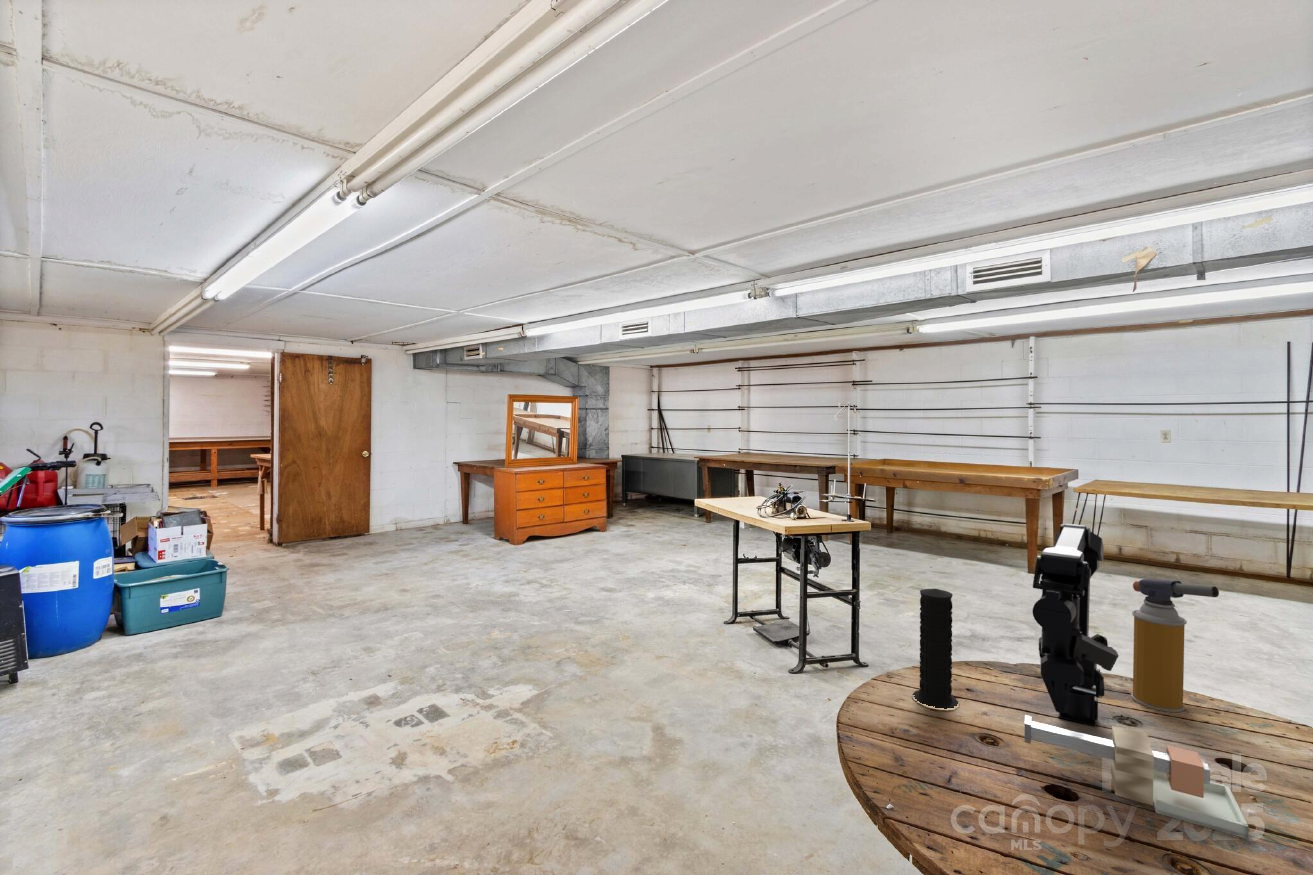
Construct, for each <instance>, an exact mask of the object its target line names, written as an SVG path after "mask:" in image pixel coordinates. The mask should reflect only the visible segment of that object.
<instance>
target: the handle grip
mask: <svg viewBox="0 0 1313 875" xmlns="http://www.w3.org/2000/svg"><path fill="white" fill-rule="evenodd" d="M919 594H920V598H919V604H920V608H919V611H920V612H919V619H920V621H919V624H920V625H919V632H920V634H919V638H920V639H919V651H920V652H919V678H920V679H919V689H917V690H915V691H914V692H913V693H912V695H915V696H914V697H915V699H917V701H919V702H920V703H922V704H926V705H928V706H933V707H934V706H935V708H944V709H947V708H954V706H957V704H958V702H959V701H957V700H958V699H957V698H956V697H954V696H953V694H952V692H953V687H952V683H953V680H952V678H953V672H952V669H953V666H952V664H953V658H952V656H953V652H952V651H953V638H952V637H953V630H952V628H953V616H952V615H953V611H952V610H953V602H952V598H953V593H951V592H950V591H947V590H944V589H940V588H939V589H938V588H923V589H920V591H919ZM956 699H957V700H956Z"/></svg>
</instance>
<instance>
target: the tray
mask: <svg viewBox="0 0 1313 875" xmlns="http://www.w3.org/2000/svg"><path fill="white" fill-rule="evenodd" d="M1153 808H1154V813H1156V814H1159V815H1163V816H1167V817H1170V818H1174V819H1177V820H1181V821H1183V822H1187V823H1191V824H1195V825H1198V826H1200V827H1205V828H1208V829H1212V830H1215V831H1218V832H1222V833H1225V834H1229V835H1232V836H1236V837H1239V838H1240V837H1241V838H1243V839H1246V840H1249V825H1248V822H1247V821H1246V818H1245V817H1244V814H1243V813H1242V811H1241V809H1240V807H1239V805H1238V802H1237V800H1236V798H1235V797H1234V794H1233V792H1232V791H1231V788H1230V787H1229V785H1227V784H1222V783H1218V782H1214V781H1211V780H1210V785H1209V784H1205V783H1204V798H1201V797H1197V796H1193V795H1189V794H1185V793H1182V792H1178V791H1174V790H1171V787H1170V784H1169V781H1168V778H1167V775H1166V773H1162V772H1158V771H1154V779H1153Z"/></svg>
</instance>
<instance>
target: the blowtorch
mask: <svg viewBox="0 0 1313 875" xmlns="http://www.w3.org/2000/svg"><path fill="white" fill-rule="evenodd" d="M1132 589H1133V590H1134V591H1135V592H1137V593H1138V592H1140V593H1141V594H1142V595H1144V596H1145V597H1144V599H1143V603H1142V604H1141V606H1140V607H1139V609H1135V610H1132V616H1133V658H1132V660H1133V662H1132V663H1133V666H1132V667H1133V668H1132V675H1133V677H1132V692H1131V694H1130V697H1131V698H1132V700H1133V701H1134V702H1136V703H1137V704H1140V705H1142V706H1144V707H1147V708H1149V709H1152V710H1156V711H1161V712H1167V713H1181V712H1184V711H1185V710H1186V707H1185V705H1184V677H1185V676H1184V675H1185V674H1184V672H1185V671H1184V669H1185V667H1184V666H1185V665H1184V664H1185V663H1184V662H1185V625H1187V624H1188V623H1187V622H1188V620H1186V618H1184V617H1183V616H1180V615H1179V612H1178V611H1177V610H1176V608H1175V607H1176V605H1175V603H1174V602H1173V601H1172V600H1171V598H1173V599H1178V598H1183V597H1184V595H1187V596H1188V595H1189V596H1198V597H1208V598H1218V597H1219V594H1220V590H1219V589H1218V587H1216V586H1213V585H1202V584H1201V585H1200V584H1190V583H1182V581H1180V580H1172V579H1157V578H1142V579H1140V580H1138V581H1133V583H1132Z"/></svg>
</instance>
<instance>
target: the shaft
mask: <svg viewBox="0 0 1313 875" xmlns="http://www.w3.org/2000/svg"><path fill="white" fill-rule="evenodd" d="M1032 740H1033V741H1038V742H1042V743H1044V744H1045V743H1046V744H1049V745H1053V746H1057V747H1060V748H1065V749H1069V750H1073V751H1078V752H1081V753H1085V754H1088V755H1093V756H1097V757H1100V758H1104V759H1109V760H1110V761H1111V760H1115V745H1114V741H1112V739H1107V738H1104V737H1099V736H1096V735H1095V736H1094V735H1091V734H1087V733H1082V732H1078V731H1074V730H1070V729H1066V728H1061V727H1057V726H1053V725H1049V724H1046V723H1041V722H1037V721H1032V716H1031V715H1026V714H1024V740H1023V741H1024V743H1026V744H1030V745H1031V744H1032ZM1152 751H1153V754H1154V771H1158V772H1162V773H1166V774H1170V775H1171V761H1170V758H1169V756H1168V754H1166V753H1165V752H1162V751H1157V750H1153V749H1152ZM1201 762H1202V764H1203V766H1204V783H1205V784H1209V785H1210V781H1211V769H1210V766H1209V765H1208V763H1207V762H1203V761H1201Z"/></svg>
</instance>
